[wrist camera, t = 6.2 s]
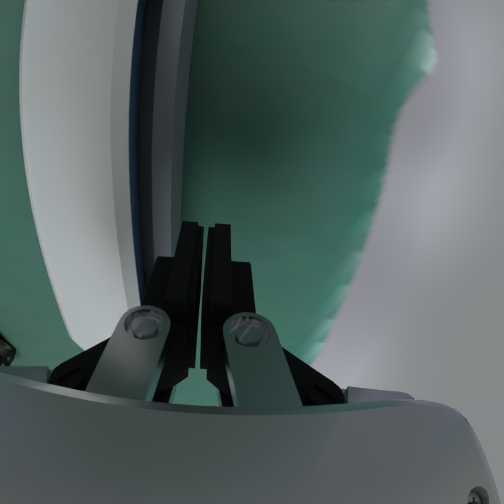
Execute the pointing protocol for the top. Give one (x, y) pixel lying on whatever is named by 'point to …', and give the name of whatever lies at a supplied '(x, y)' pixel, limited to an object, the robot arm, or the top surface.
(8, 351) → the network switch
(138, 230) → the block
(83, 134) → the panel
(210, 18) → the top surface
